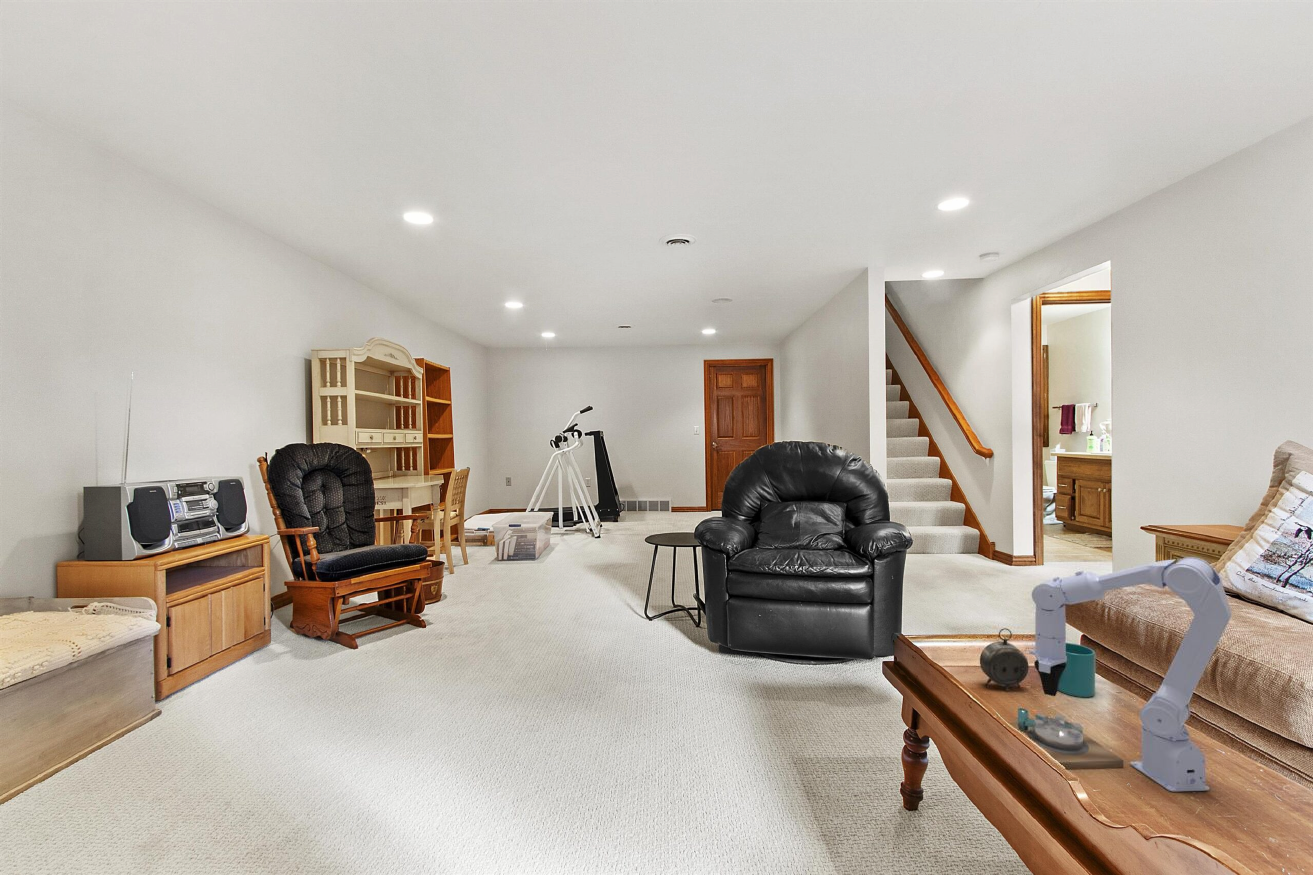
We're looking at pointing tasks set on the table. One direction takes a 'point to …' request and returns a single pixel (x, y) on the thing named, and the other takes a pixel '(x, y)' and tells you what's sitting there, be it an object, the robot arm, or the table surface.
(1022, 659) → the alarm clock
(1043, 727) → the rotary knob
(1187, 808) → the table surface
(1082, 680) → the cup
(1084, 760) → the dial board
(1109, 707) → the table surface
